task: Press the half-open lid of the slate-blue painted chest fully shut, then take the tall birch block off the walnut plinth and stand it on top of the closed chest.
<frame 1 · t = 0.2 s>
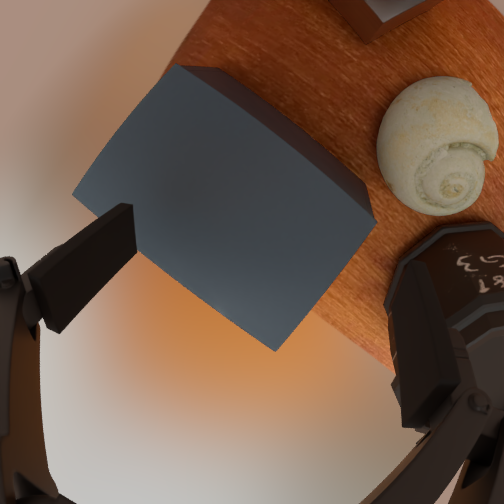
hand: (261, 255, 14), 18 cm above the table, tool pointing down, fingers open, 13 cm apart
chest: (259, 164, 31), on the table
lid: (223, 204, 21), point 12 cm above the table, hinge at 30.0°
seashell: (425, 136, 26), on the table
octagonal dark pot: (455, 285, 32), on the table
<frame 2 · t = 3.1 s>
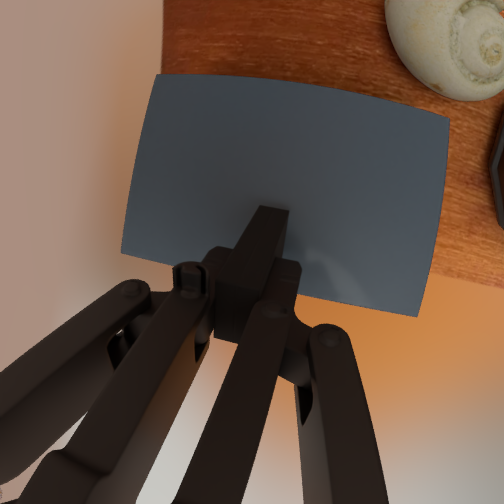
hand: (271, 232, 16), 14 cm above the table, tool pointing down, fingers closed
lid: (282, 181, 17), point 11 cm above the table, hinge at 24.9°, touching gripper
seashell: (435, 29, 18), on the table
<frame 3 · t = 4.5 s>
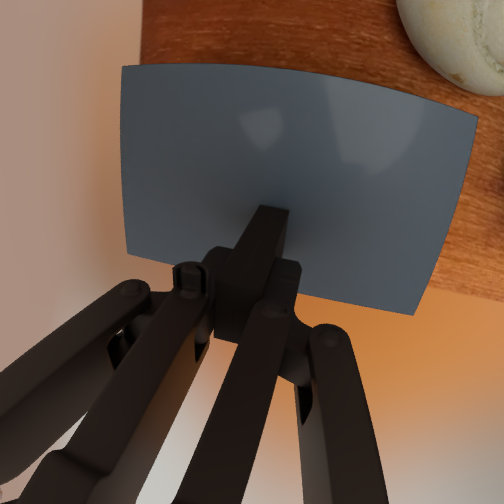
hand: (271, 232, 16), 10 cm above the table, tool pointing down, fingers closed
lid: (279, 186, 16), point 9 cm above the table, hinge at 1.4°, touching gripper
seashell: (451, 14, 15), on the table
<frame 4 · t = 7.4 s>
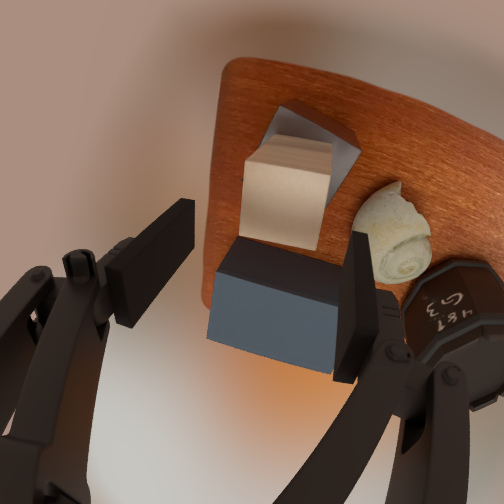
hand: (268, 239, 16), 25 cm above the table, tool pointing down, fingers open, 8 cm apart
chest: (290, 284, 48), on the table
lid: (279, 327, 40), point 9 cm above the table, hinge at 1.4°
seashell: (387, 225, 40), on the table
octagonal dark pot: (453, 301, 42), on the table
plinth: (309, 143, 37), on the table
block: (299, 165, 28), point 11 cm above the table, touching plinth
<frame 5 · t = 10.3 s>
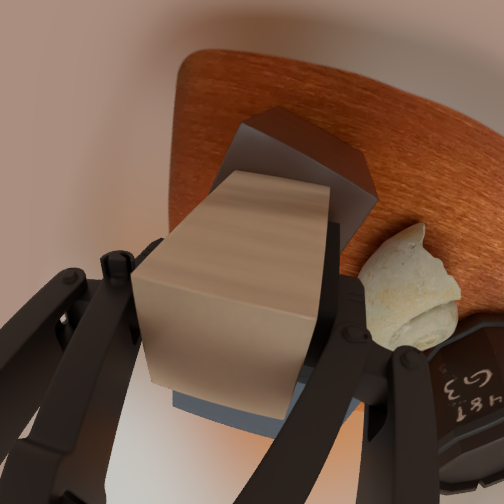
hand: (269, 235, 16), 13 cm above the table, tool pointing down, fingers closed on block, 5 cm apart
lid: (257, 404, 30), point 9 cm above the table, hinge at 1.4°
seashell: (401, 277, 30), on the table
octagonal dark pot: (472, 358, 32), on the table
plinth: (298, 168, 27), on the table
block: (276, 220, 18), point 11 cm above the table, touching gripper, plinth
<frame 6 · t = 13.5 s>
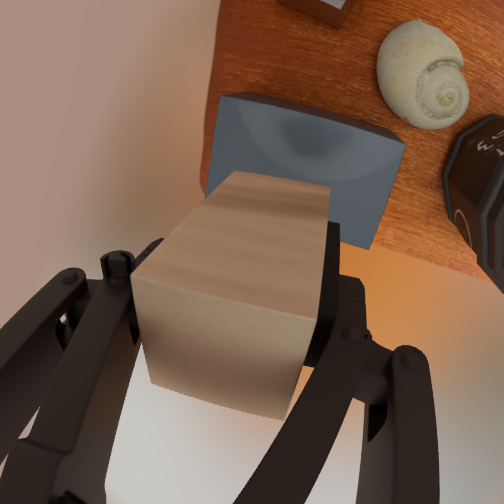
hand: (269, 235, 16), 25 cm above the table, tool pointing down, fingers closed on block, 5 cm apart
chest: (308, 149, 38), on the table
lid: (300, 172, 31), point 9 cm above the table, hinge at 1.4°
seashell: (413, 74, 30), on the table
octagonal dark pot: (496, 179, 33), on the table
block: (276, 221, 18), point 24 cm above the table, touching gripper
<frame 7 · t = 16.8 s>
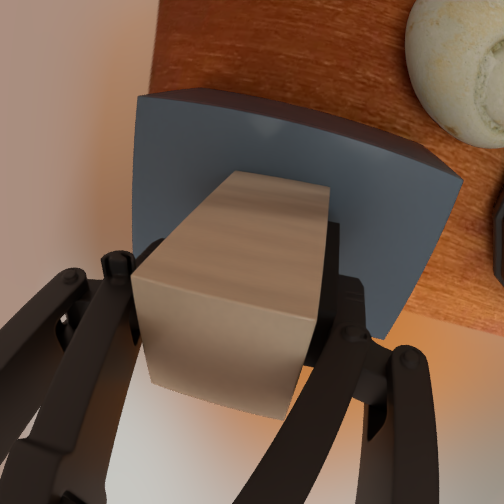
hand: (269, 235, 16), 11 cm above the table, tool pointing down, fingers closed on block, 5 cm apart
chest: (296, 173, 25), on the table
lid: (275, 223, 18), point 9 cm above the table, hinge at -0.2°, touching block
seashell: (456, 60, 17), on the table
block: (276, 221, 18), point 9 cm above the table, touching gripper, lid
when the fingers open (11 cm above the table, at t = 16.9 s): block stays where it is, resting on lid.
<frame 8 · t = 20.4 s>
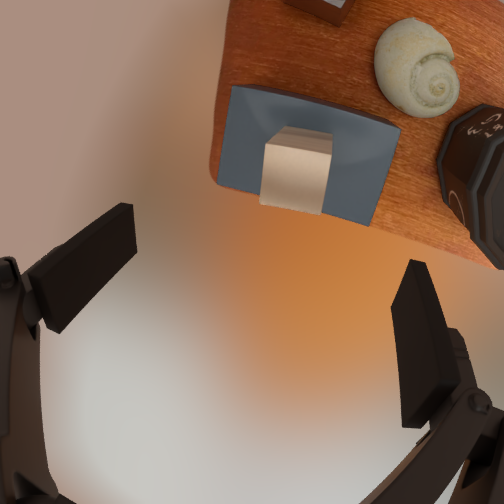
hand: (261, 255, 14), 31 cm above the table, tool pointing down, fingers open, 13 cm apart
chest: (311, 137, 40), on the table
lid: (305, 154, 33), point 9 cm above the table, hinge at -0.2°, touching block
seashell: (408, 68, 32), on the table
octagonal dark pot: (488, 165, 35), on the table
block: (305, 152, 33), point 9 cm above the table, touching lid
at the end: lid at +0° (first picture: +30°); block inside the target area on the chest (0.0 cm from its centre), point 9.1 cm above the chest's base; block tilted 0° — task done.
